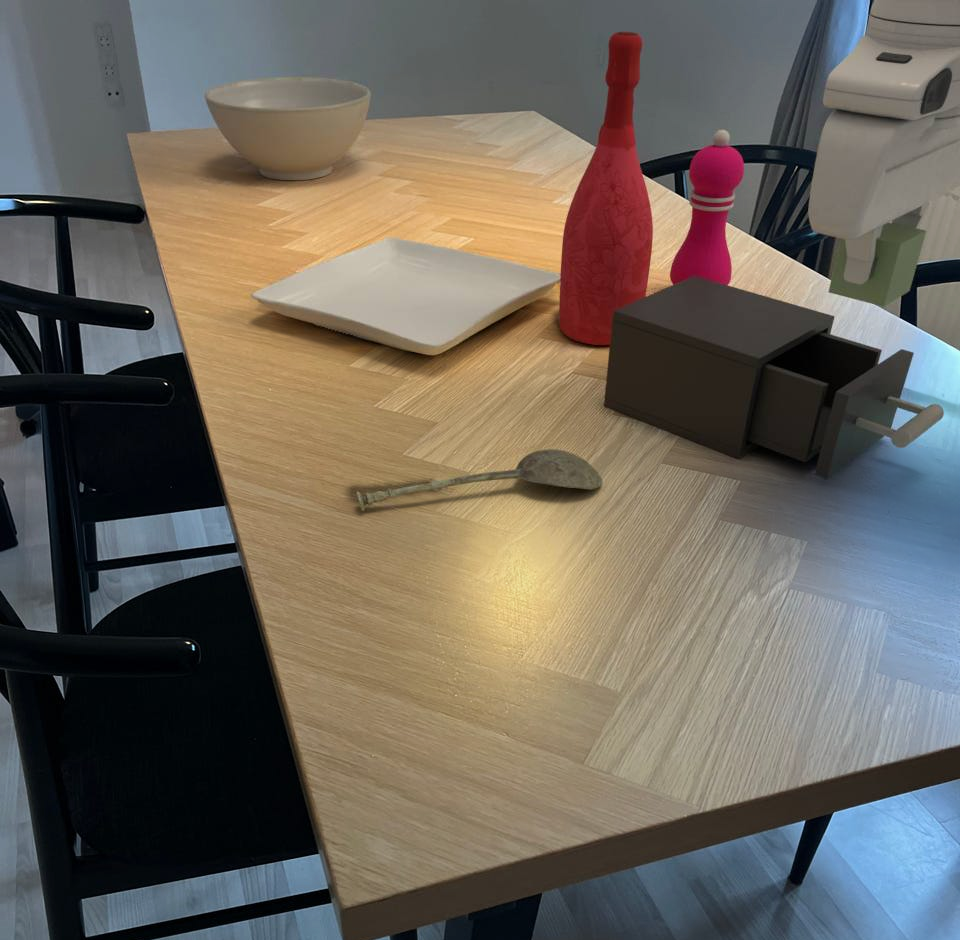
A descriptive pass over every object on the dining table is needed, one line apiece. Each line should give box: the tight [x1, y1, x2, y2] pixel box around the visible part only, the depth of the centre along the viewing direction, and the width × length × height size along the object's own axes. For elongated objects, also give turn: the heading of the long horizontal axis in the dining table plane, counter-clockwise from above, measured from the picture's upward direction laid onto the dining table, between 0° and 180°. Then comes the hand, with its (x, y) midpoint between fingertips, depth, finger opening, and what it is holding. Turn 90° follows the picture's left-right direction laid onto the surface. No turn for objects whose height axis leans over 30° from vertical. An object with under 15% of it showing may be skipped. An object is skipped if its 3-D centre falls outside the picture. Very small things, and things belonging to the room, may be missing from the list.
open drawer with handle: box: [747, 332, 945, 480], centre depth 90 cm, size 20×13×8 cm, turn 47°
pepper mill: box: [669, 129, 745, 286], centre depth 113 cm, size 7×7×20 cm
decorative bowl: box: [204, 76, 372, 181], centre depth 164 cm, size 27×27×12 cm
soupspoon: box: [356, 448, 603, 513], centre depth 85 cm, size 22×3×7 cm
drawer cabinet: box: [603, 276, 835, 460], centre depth 96 cm, size 16×14×10 cm
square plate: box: [250, 237, 561, 356], centre depth 117 cm, size 27×27×4 cm
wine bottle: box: [558, 31, 654, 346], centre depth 104 cm, size 10×10×30 cm
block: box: [828, 222, 927, 308], centre depth 75 cm, size 5×5×5 cm
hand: (874, 271), depth 76 cm, fingers closed on block, 4 cm apart
